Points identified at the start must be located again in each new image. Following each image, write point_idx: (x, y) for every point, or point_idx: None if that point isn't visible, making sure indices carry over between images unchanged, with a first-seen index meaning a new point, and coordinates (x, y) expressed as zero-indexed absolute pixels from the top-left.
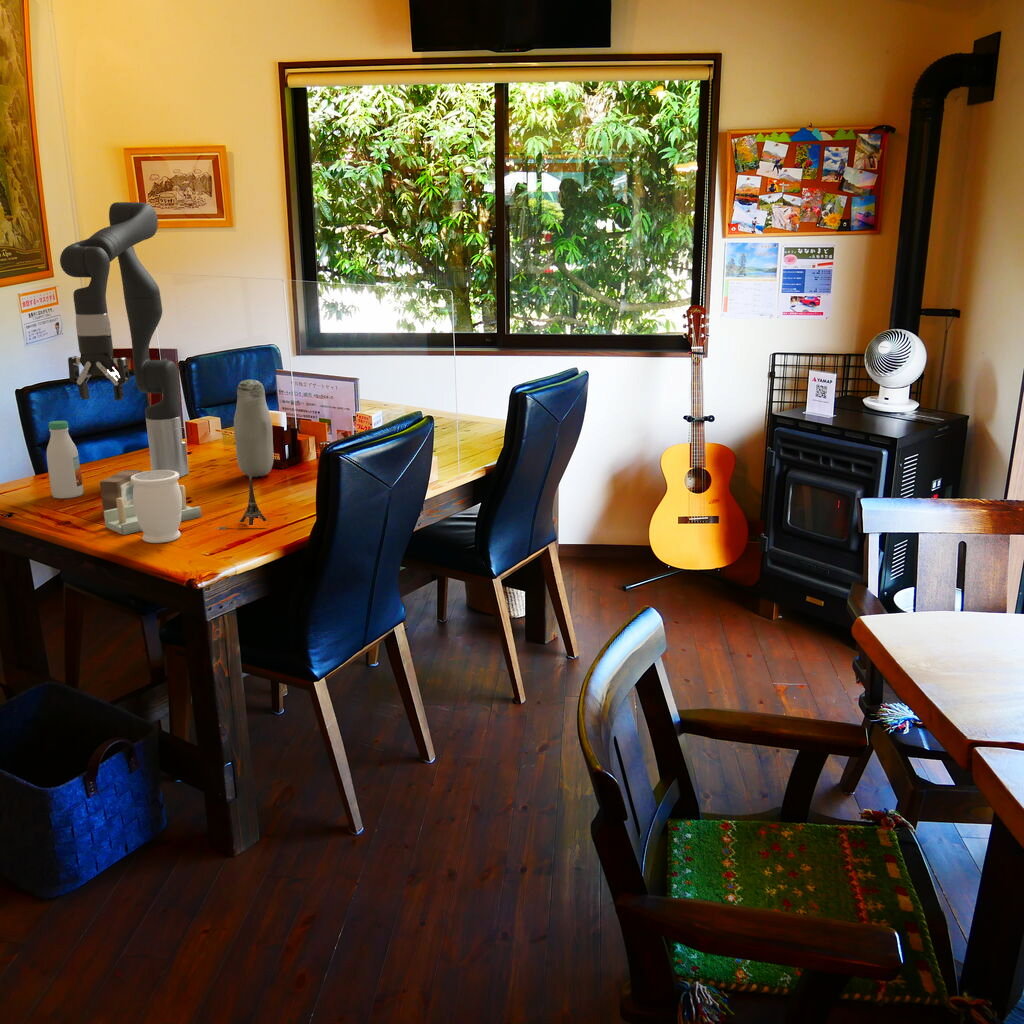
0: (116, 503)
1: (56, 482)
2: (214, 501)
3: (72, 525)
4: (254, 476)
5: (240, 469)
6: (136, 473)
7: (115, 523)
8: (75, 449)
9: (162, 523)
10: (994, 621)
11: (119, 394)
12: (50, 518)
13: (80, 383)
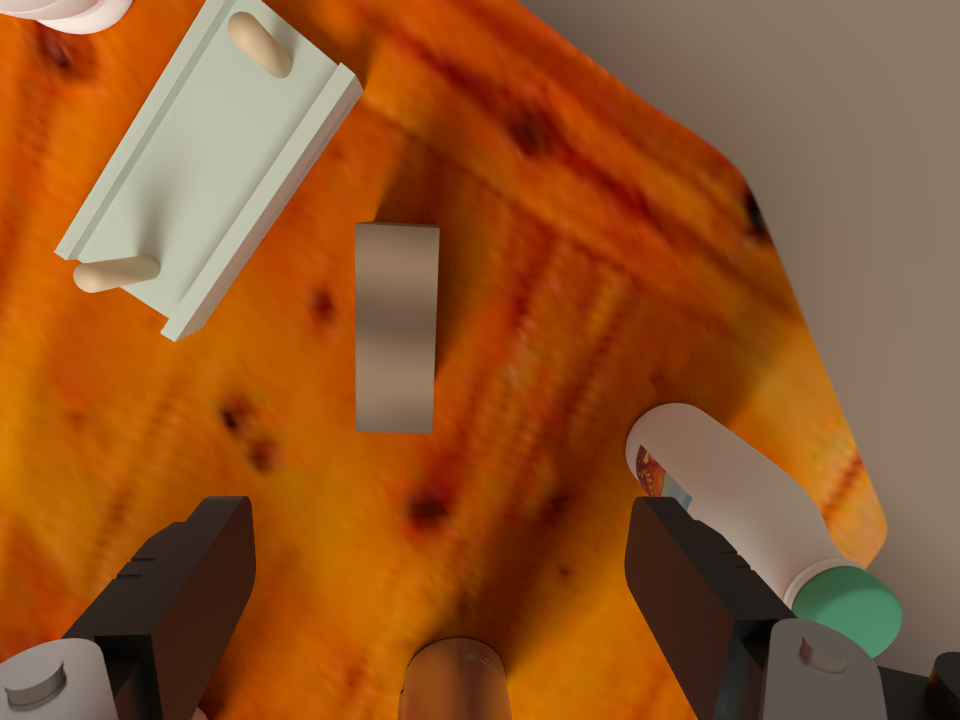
0: (380, 222)
1: (706, 421)
2: (145, 434)
3: (493, 104)
4: None
5: (202, 718)
6: (356, 389)
7: (301, 52)
8: None
9: None
10: None
11: (151, 554)
12: (608, 184)
13: (785, 633)
